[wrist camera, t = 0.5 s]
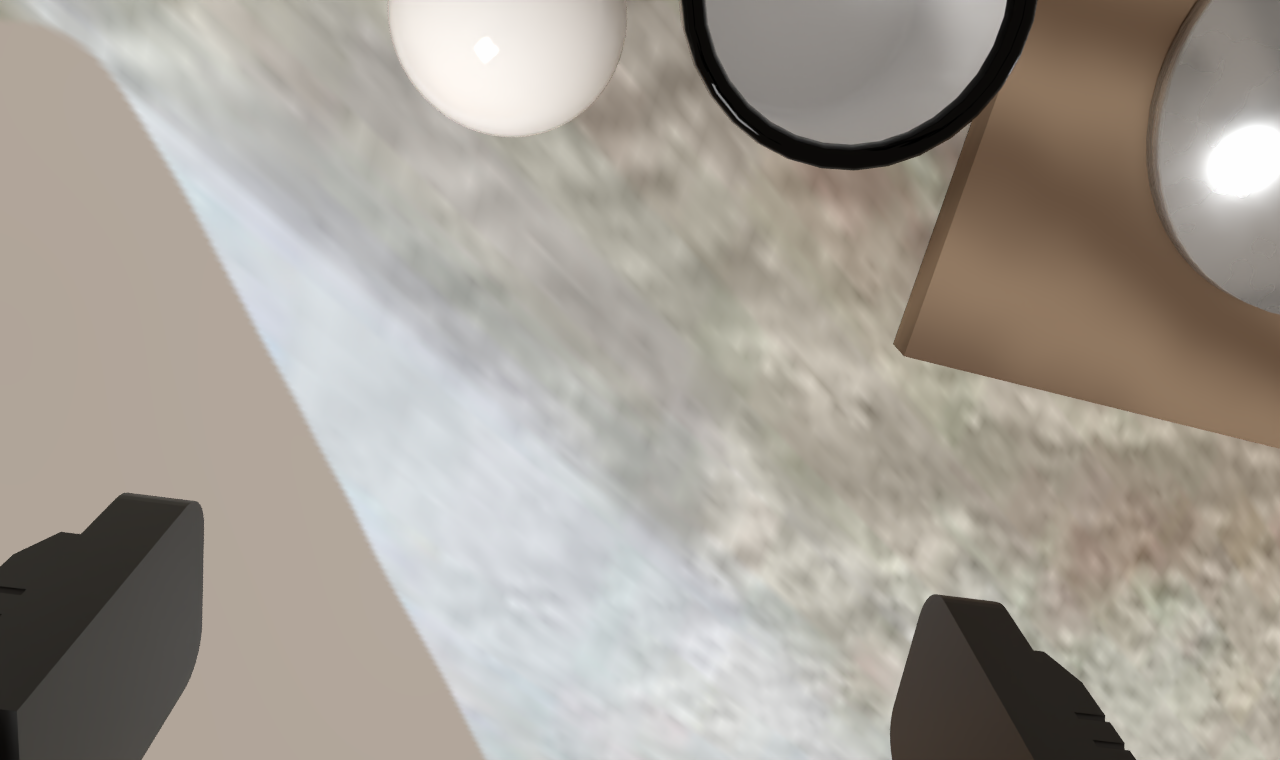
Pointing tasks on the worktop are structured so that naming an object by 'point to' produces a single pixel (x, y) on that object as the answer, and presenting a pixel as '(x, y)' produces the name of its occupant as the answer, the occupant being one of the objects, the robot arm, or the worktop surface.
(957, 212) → the walnut board
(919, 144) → the mug
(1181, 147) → the pot lid with knob
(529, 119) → the lightbulb
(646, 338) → the worktop surface
